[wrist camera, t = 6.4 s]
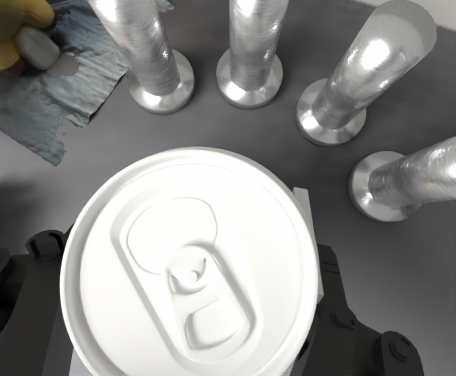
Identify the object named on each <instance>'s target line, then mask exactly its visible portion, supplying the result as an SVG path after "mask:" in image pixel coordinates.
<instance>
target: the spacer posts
mask: <svg viewBox="0 0 456 376" xmlns="http://www.w3.org/2000/svg"><path fill="white" fill-rule="evenodd" d="M87 1H88V2H89V4H90V5H91V7H92V8H93V10H94V12H95V13H96V15H97V16H98V18H99V20H100V21H101V23H102V24H103V26H104V27H105V29H106V31H107V32H108V34H109V35H110V37H111V38H112V40H113V42H114V43H115V45H116V46H117V48H118V49H119V51H120V53H121V54H122V56H123V57H124V59H125V60H126V62H127V64H128V65H129V67H130V68H129V71H128V76H127V84H128V88H129V91H130V93H131V95H132V96H133V98H134V99H135V100H136V102H137V103H138V104H139V105H140V106H141V107H142V108H143V109H144V110H146V111H148V112H150V113H152V114H156V115H169V114H173V113H175V112H178V111H179V110H181V109H182V108H184V107H185V106H186V105H187V104H188V103H189V102H190V100H191V98H192V96H193V94H194V91H195V78H194V74H193V70H192V67H191V65H190V63H189V61H188V60H187V59H186V57H184V56H183V55H182V54H181V53H179V52H178V51H176V50H173V49H172V48H171V45H170V42H169V39H168V36H167V33H166V30H165V27H164V24H163V21H162V18H161V15H160V12H159V9H158V6H157V3H156V0H87ZM288 2H289V0H229V43H230V48H229V49H228V50H227V51H226V52H225V53H224V54H223V55H222V56H221V58H220V60H219V62H218V65H217V70H216V76H217V85H218V89H219V91H220V94H221V95H222V97H223V98H224V99H225V100H226V101H227V102H228V103H229V104H231V105H233V106H234V107H237V108H240V109H245V110H253V109H258V108H261V107H263V106H265V105H267V104H268V103H270V102H271V101H272V100H273V99H274V97H275V96H276V94H277V93H278V90H279V88H280V85H281V82H282V77H283V69H282V65H281V62H280V60H279V58H278V57H277V55H276V54H275V52H276V48H277V44H278V40H279V36H280V33H281V29H282V25H283V21H284V17H285V13H286V9H287V6H288ZM436 39H437V28H436V24H435V22H434V20H433V18H432V16H431V15H430V14H429V13H428V11H427V10H425V9H424V8H423V7H421V6H420V5H418V4H416V3H414V2H411V1H407V0H392V1H388V2H386V3H383V4H381V5H380V6H378V7H377V8H376V9H375V10H374V11H373V13H372V14H371V15H370V17H369V18H368V20H367V21H366V23H365V24H364V26H363V27H362V29H361V30H360V32H359V33H358V35H357V36H356V38H355V39H354V41H353V42H352V44H351V45H350V47H349V48H348V50H347V51H346V53H345V54H344V56H343V57H342V59H341V60H340V62H339V63H338V65H337V66H336V68H335V69H334V71H333V72H332V74H331V75H330V77H329V78H327V79H322V80H318V81H316V82H314V83H312V84H311V85H309V86H308V87H307V88H306V89H305V90H304V92H303V93H302V95H301V97H300V99H299V100H298V102H297V105H296V108H295V122H296V125H297V127H298V129H299V131H300V133H301V134H302V135H303V136H304V137H305V138H306V139H307V140H309V141H310V142H312V143H314V144H316V145H319V146H323V147H334V146H339V145H341V144H344V143H345V142H347V141H348V140H350V139H351V138H353V137H354V136H355V135H356V134H357V133H358V132H359V131H360V130H361V129H362V127H363V125H364V122H365V119H366V107H367V106H369V105H370V104H371V103H372V102H373V101H374V100H376V99H377V98H378V97H379V96H380V95H381V94H382V93H384V92H385V91H386V90H387V89H388V88H389V87H390V86H392V85H393V84H394V83H395V82H396V81H397V80H399V79H400V78H401V77H402V76H403V75H404V74H405V73H407V72H408V71H409V70H410V69H411V68H412V67H413V66H415V65H416V64H417V63H418V62H419V61H420V60H422V59H423V58H424V57H425V56H426V55H427V54H428V53H429V52H430V51H431V50H432V49H433V47H434V45H435V43H436ZM347 186H348V194H349V197H350V199H351V201H352V203H353V205H354V206H355V207H356V209H357V210H358V211H359V212H360V213H362V214H363V215H364V216H366V217H368V218H370V219H372V220H376V221H385V222H387V221H400V220H404V219H406V218H408V217H410V216H412V215H413V214H414V213H416V211H417V210H418V209H419V208H420V206H421V205H422V203H430V202H439V201H447V200H456V136H455V137H452V138H450V139H447V140H445V141H442V142H440V143H437V144H435V145H432V146H430V147H427V148H424V149H422V150H419V151H417V152H414V153H412V154H409V155H407V156H404V155H402V154H400V153H397V152H392V151H381V152H377V153H374V154H371V155H369V156H367V157H365V158H364V159H362V160H360V161H359V162H358V163H357V164H356V165H355V166H354V167H353V169H352V170H351V172H350V175H349V178H348V185H347Z"/></svg>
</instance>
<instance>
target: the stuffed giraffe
mask: <svg viewBox="0 0 456 376" xmlns="http://www.w3.org/2000/svg"><path fill="white" fill-rule="evenodd" d="M57 1H59V0H57ZM156 3H157V6H158V9H159V12H160V13H165V12H167V10H172V9H173V8H174V5H172V4H171V3H169V2H168V1H167V0H156ZM54 10H69V11H70V14H69V15H68V14H67V12H66V14H65V15H63V16H61V15H59V16H60V17H62V18H63V19H62V20H63V21H57V19H58V17H57V16H56V13H55V11H54ZM61 23H62V24H61ZM60 24H61V25H60ZM100 31H101V32H100ZM63 52H65V53H67V54H66V55H68V56H74V54H79V55H80V57H75V58H74V59H76V60H77V61H78V64H79V65H80V67H79V69H78V72H77V73H76V74H75V75H73V76H69V75H68V77H64V76H63V75H60V76H58V77H56V78H52V77H51V76H50V75H49V74H48V73H47V72H46V71H47V70H48V69H49V68H50V67H51V66H52V65H53V64H54V63H55V62H56V61H57V59H58V58H59V57H60V55H61V54H62V53H63ZM128 67H129V65H128V64H127V62H126V60H125V59H124V57H123V56H122V54H121V53H120V51H119V49H118V48H117V46H116V45H115V43H114V42H113V40H112V38H111V37H110V36H109V34H108V32H107V31H106V29H105V27H104V26H103V24H102V23H101V21H100V20H99V18H98V16H97V15H96V13H95V12H94V10H93V8H92V7H91V5H90V4H89V2H88V1H87V0H66V1H63V2H61V3H55V4H50V5H49V4H48V3H47V1H46V0H0V131H2V132H4V133H5V134H7V135H8V136H10V137H11V138H13V139H14V140H16V141H17V142H19V143H20V144H22V145H24V146H25V147H27V148H28V149H30V150H31V151H33V152H34V153H36V154H37V155H39V156H40V157H42V158H43V159H45V160H46V161H48V162H50V163H51V164H53V165H54V166H57V165H58V164H59V162H60V161H61V159H62V157H63V155H64V152H68V151H65V150H64V144H63V143H62V142H61V141H60V140H58V139H57V137H56V135H55V133H56V131H57V127H58V126H63V123H62V121H61V119H60V116H61V117H62V119H68V120H69V121H71V122H72V123H73V124H74V125H75V126H80V127H81V128H82V127H84V126H85V125H88V123H89V117H90V115H91V114H92V113H94V112H95V111H96V110H97V109H98V107H100V105H101V103H103V102H104V101H105V100H106V99H107V97H108V96H109V93H110V92H112V91H113V89H114V87H115V85H116V84H117V82H118V80H119V78H120V77H121V76H123V75H124V74H125V73H126V72H127V71H128ZM122 68H123V69H125V70H126V71H125V70H124V71H122ZM56 118H58V119H57V120H56ZM62 135H63V136H64V135H65V132H62ZM52 141H53V143H52Z"/></svg>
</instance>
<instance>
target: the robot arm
mask: <svg viewBox="0 0 456 376" xmlns="http://www.w3.org/2000/svg"><path fill="white" fill-rule="evenodd" d="M145 158H146V157H145ZM292 193H293V195H294V196H295V198H296V199H297V200H298V202H299V203H300V205H301V207H302V208H303V210H304V212H305V214H306V216H307V218H308V220H309V222H310V225H311V228H312V230H313V233H314V229H313V222H312V216H311V209H310V203H309V196H308V190H307V189H302V188H297V187H294V189H293V192H292ZM75 222H76V221H75ZM74 224H75V223H74ZM74 224H73V225H72V226H71V227H70V228H69V229H68V231H67V232H66V233H65V234H63V233H62V232H60V231H58V230H47V231H42V232H40V233H38V234H36V235H34V236H33V237H31V238H30V239H29V240H28V241H27V243H26V244H25V245H26V247H27V249H28V251H29V253H30V254H26V255H11V253H10V252H9V251H8V250H7V249H5V248H1V247H0V376H69V370H70V364H71V359H72V353H73V347H74V346H73V344H72V341H71V339H70V337H69V334H68V331H67V328H66V325H65V321H64V317H63V313H62V307H61V298H60V274H61V266H62V260H63V255H64V251H65V247H66V244H67V241H68V238H69V235H70V233H71V230H72V228H73V226H74ZM314 236H315V235H314ZM317 249H318V255H319V265H320V282H319V292H318V299H317V304H316V310H315V314H314V318H313V321H312V324H311V328H310V330H309V333H308V335H307V338H306V340H305V342H304V344H303V346H302V348H301V350H300V351H299V353H298V355H297V357H296V360H295V363H294V365H293V368H292V371H291V373H290V376H349V375H350V376H424V372H423V368H422V364H421V360H420V356H419V354H418V352H417V349H416V348H415V347H414V345H413V344H412V343H411V342H410V341H409V340H408V339H407V338H406V337H405V336H403V335H401V334H399V333H398V332H394V331H387V332H384V333H383V334H380V333H378V332H377V331H375V330H373V329H371V328H369V327H367V326H365V325H364V324H362V323H361V322H359V321H358V320H357V318H356V316H355V315H354V313H353V312H352V311H351V310H350V309H349V308H348V305H347V302H346V298H345V293H344V289H343V284H342V280H341V276H340V271H339V267H338V262H337V258H336V255H335V253H334V252H333V250H332V249H331V247H330V246H326V245H321V244H317Z"/></svg>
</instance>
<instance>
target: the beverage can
mask: <svg viewBox="0 0 456 376" xmlns="http://www.w3.org/2000/svg"><path fill="white" fill-rule="evenodd" d="M319 282H320V265H319V255H318V249H317V244H316V240H315V236H314V233H313V230H312V228H311V225H310V222H309V220H308V218H307V216H306V214H305V212H304V210H303V208H302V207H301V205H300V203H299V202H298V200H297V199H296V198H295V196H294V195H293V193H292V192H291V191H290V190H289V189H288V188H287V186H286V185H285V184H284V183H283V182H282V181H281V180H280V179H279V178H277V177H276V176H275V175H274V174H273V173H272V172H270V171H269V170H268V169H266V168H265V167H263V166H262V165H260V164H258V163H257V162H255V161H253V160H251V159H249V158H247V157H245V156H242V155H240V154H237V153H234V152H231V151H227V150H223V149H217V148H210V147H184V148H177V149H172V150H168V151H164V152H161V153H157V154H155V155H152V156H150V157H147V158H144V159H142V160H140V161H138V162H135V163H133V164H132V165H130V166H128V167H126V168H125V169H123V170H122V171H120V172H119V173H117V174H116V175H114V176H113V177H112V178H111V179H109V180H108V181H107V182H106V183H105V184H104V185H103V186H102V187H101V188H100V189H99V190H98V191H97V192H96V193H95V194H94V195H93V196H92V198H91V199H90V200H89V201H88V203H87V204H86V206H85V207H84V208H83V210H82V212H81V213H80V215H79V217H78V218H77V220H76V222H75V224H74V226H73V228H72V230H71V233H70V235H69V238H68V241H67V244H66V247H65V251H64V255H63V260H62V266H61V274H60V298H61V307H62V313H63V317H64V321H65V325H66V328H67V331H68V334H69V337H70V339H71V341H72V344H73V346H74V348H75V350H76V352H77V353H78V355H79V357H80V358H81V360H82V362H83V363H84V364H85V366H86V367H87V368H88V370H89V371H90V372H91V373H92V375H93V376H282V375H283V374H284V372H285V371H286V370H287V369H288V368H289V366H290V365H291V364H292V362H293V361H294V359H295V358H296V356H297V355H298V353H299V351H300V350H301V348H302V346H303V344H304V342H305V340H306V338H307V335H308V333H309V330H310V328H311V324H312V321H313V318H314V314H315V310H316V304H317V299H318V292H319Z"/></svg>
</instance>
